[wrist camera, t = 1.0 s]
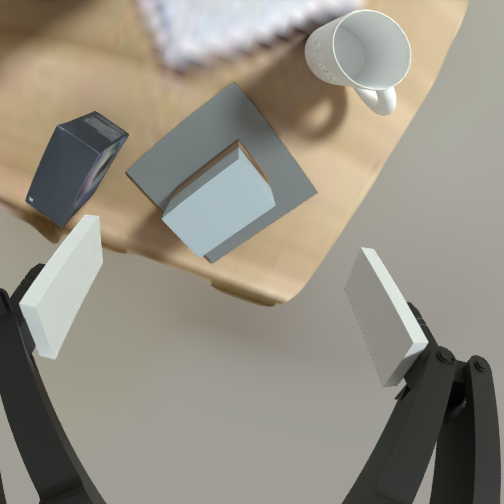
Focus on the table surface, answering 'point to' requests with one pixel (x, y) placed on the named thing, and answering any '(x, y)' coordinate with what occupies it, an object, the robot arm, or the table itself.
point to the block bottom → (218, 159)
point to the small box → (74, 165)
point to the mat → (213, 142)
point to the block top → (219, 203)
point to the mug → (361, 56)
